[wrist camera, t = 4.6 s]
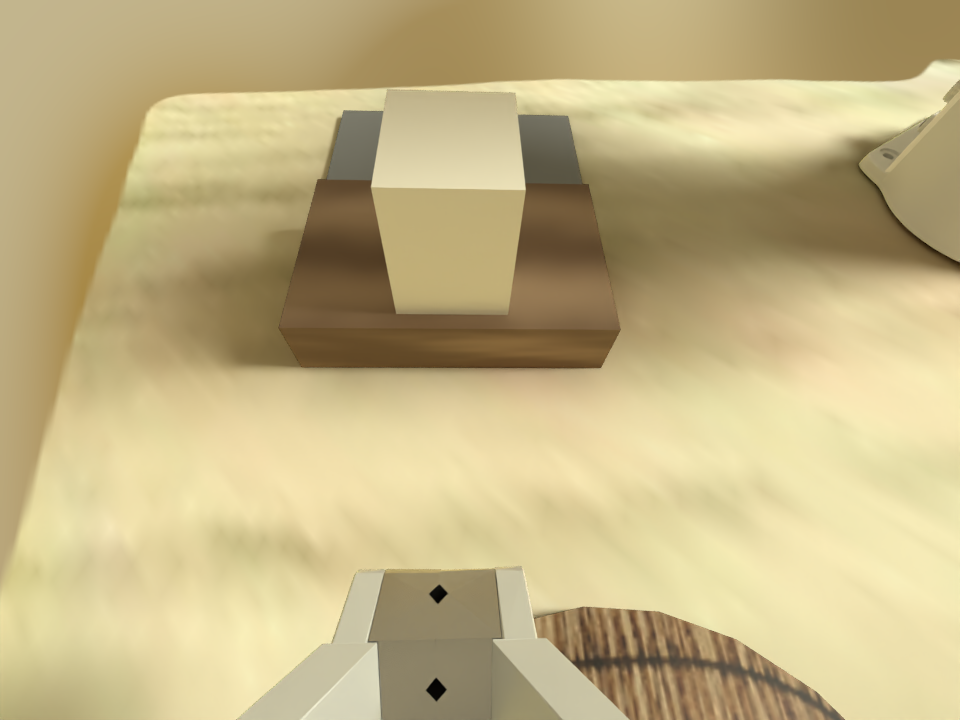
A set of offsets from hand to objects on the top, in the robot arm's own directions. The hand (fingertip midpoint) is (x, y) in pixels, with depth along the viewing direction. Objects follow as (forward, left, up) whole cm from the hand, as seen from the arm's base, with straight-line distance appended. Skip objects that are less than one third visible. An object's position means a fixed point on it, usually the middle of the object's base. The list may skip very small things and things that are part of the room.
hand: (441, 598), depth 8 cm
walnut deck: (-14, -14, -14) cm, 24 cm away
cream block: (-12, -13, -10) cm, 20 cm away
